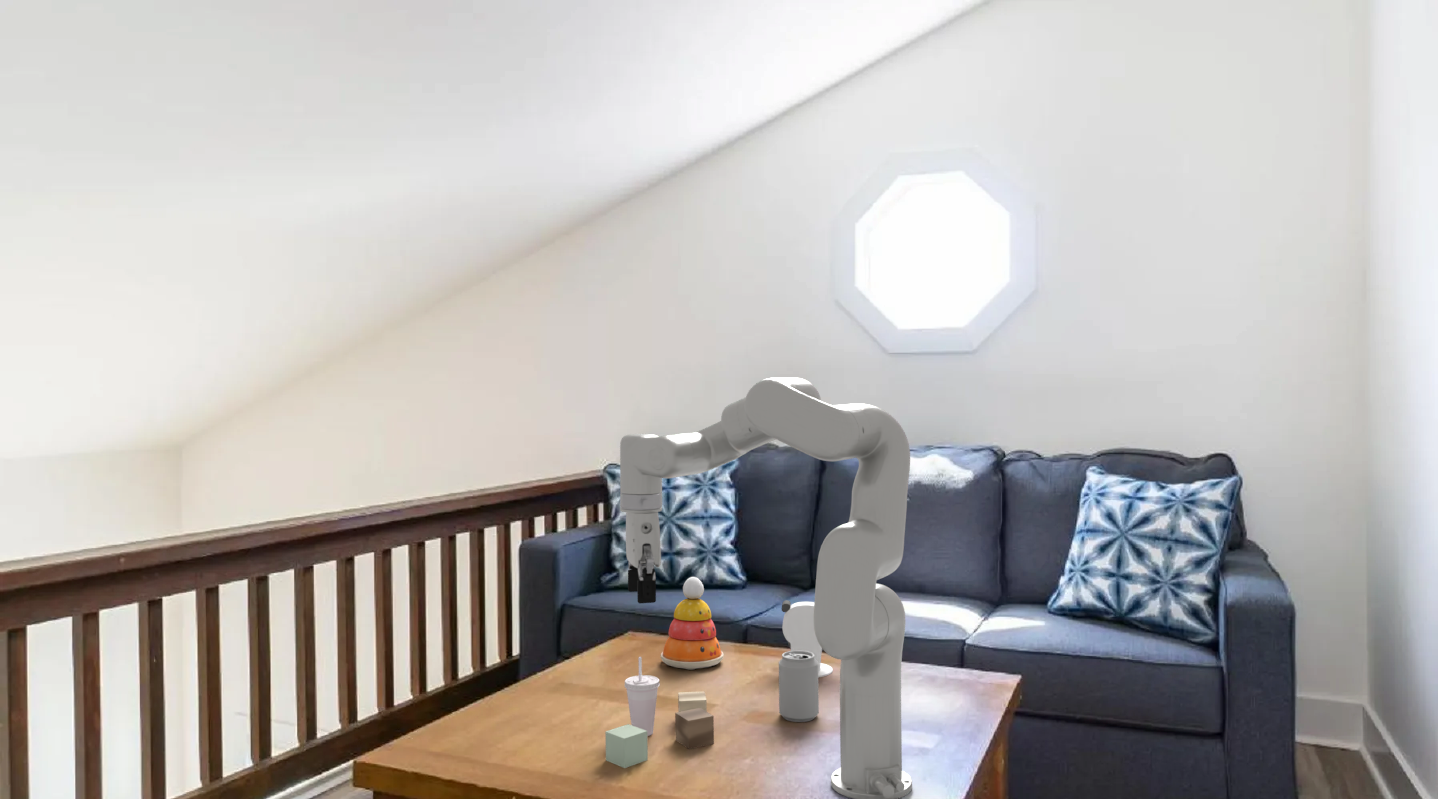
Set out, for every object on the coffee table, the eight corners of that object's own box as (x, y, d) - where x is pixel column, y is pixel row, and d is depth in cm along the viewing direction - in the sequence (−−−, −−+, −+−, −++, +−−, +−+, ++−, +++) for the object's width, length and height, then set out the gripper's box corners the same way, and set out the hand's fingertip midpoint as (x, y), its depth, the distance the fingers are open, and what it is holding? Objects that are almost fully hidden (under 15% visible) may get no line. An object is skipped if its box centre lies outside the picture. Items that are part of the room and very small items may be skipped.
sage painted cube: (647, 760, 171) (647, 730, 171) (624, 768, 167) (624, 738, 167) (628, 752, 174) (628, 724, 174) (605, 760, 171) (605, 731, 171)
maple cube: (706, 726, 187) (706, 699, 187) (679, 727, 187) (679, 701, 186) (704, 717, 192) (704, 691, 192) (678, 718, 192) (678, 692, 191)
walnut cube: (713, 743, 178) (713, 715, 178) (688, 749, 176) (688, 720, 176) (700, 735, 182) (699, 707, 182) (675, 740, 180) (675, 712, 180)
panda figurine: (835, 663, 227) (834, 596, 226) (836, 678, 215) (835, 608, 215) (781, 662, 228) (780, 596, 228) (779, 677, 217) (778, 607, 216)
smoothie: (618, 735, 182) (617, 658, 182) (637, 724, 188) (636, 650, 188) (648, 741, 179) (647, 663, 179) (667, 730, 185) (665, 654, 185)
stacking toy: (688, 676, 218) (687, 586, 218) (647, 663, 229) (646, 577, 228) (736, 663, 228) (735, 577, 227) (695, 651, 238) (694, 569, 238)
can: (816, 724, 187) (815, 660, 187) (776, 722, 189) (775, 658, 188) (820, 711, 194) (820, 649, 194) (782, 709, 196) (781, 647, 196)
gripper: (671, 508, 175) (672, 606, 176) (652, 496, 192) (652, 585, 192) (628, 509, 173) (629, 608, 174) (613, 497, 190) (613, 588, 190)
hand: (641, 596), depth 183 cm, fingers open, 9 cm apart
